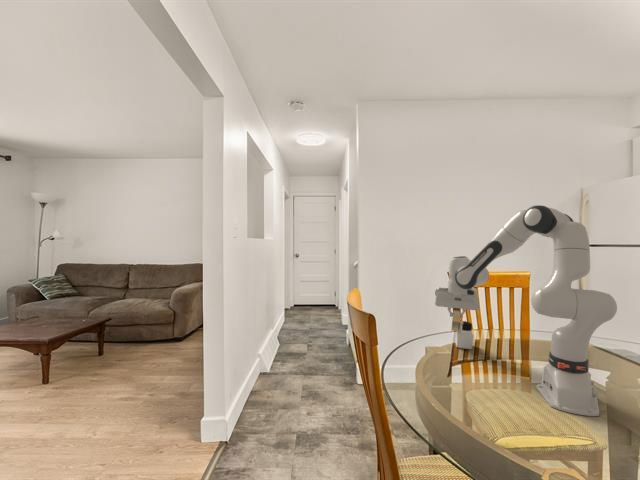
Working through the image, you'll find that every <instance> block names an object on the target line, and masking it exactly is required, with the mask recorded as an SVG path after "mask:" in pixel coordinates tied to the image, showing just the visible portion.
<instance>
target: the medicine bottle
mask: <svg viewBox="0 0 640 480" xmlns="http://www.w3.org/2000/svg"><path fill="white" fill-rule="evenodd" d="M472 329H473V324H472V323H471V322H470V321H467V320H466V321H465V320H464V321H463V320H461V321H459V326H458V331H455V346H456V348H457V347H458V349H465V350H471V349H472V350H473V346H474V345H473V343H474V333H473V330H472Z"/></svg>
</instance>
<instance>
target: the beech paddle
mask: <svg viewBox="0 0 640 480" xmlns="http://www.w3.org/2000/svg"><path fill="white" fill-rule="evenodd" d="M455 300H457V301H461V298H455ZM452 313H453V317H452V322H451V331H453V332H456V331H458V327H459V322H460V313H461V309H459V308H453V312H452Z"/></svg>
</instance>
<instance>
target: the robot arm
mask: <svg viewBox="0 0 640 480" xmlns="http://www.w3.org/2000/svg"><path fill="white" fill-rule="evenodd" d="M586 228H587V227H586V226H585V225H584V224H582V223H580V222H577V221H575V220H574V219H573V218H572V217H571V216H569V215H568V214H566V213H563V212H562V211H560V210H558V209H555V208H552V207H548V206H546V205H533V206H530V207H528V208H527V209H522V210H519V211H517V212H516V213H515V214H514V215H513V216H511V217H510V218H509V219H508V220H507V221H506V222H505V223H504V224H503V225H502V226H501V228H500V229H499V230H497V232H496V234H495V235H494V236H493V237H492V239H490V240H489V242H488V243H487V244H486V245H485V246H484V247H483V248H482V249H481V250H480V251H479V252H478V253H477V254H476V255H475V256H474V257H473V258H472V259H471V260H470V259H469V257H468V256H466V255H465V256H463V255H461V256H453V257H452V258H450V262H449V266H448V276H449V277H448V283H447V287H437V288H435V290H434V294H435V302H434V304H435V306H436V307H441V308H447V311H448V313H449V317H450V318H451V317H452V318H453V312H452V310H451V309H454V308H459V309H460V310H462V312H460V317H459V319H460V318H461V319H463V317H464V314H465V313H466V310H468V311H479V310H480V301H479V296H478V290H477V289H476V287H478V286H481V285H484V284H486V283H487V282H488V281H489V280H490V279H489V278H490V272H489V270H488V269H487V268H488V266H489V265H490V264H491V263H492V262H493V261H495V260H496V259H498V258H501V257H503V256H506V255H509V254H512V253H514V252H515V251H516V250H519V248H521V246H524V245H525V243H526V242H527V240H529V239H530V237H531V236H533V235H534V234H538V235H541V236H542V237H546V238H551V239H552V240H553V266H552V272H551V274H550V276H549V277H548V280H547V281H546V282H545V283H544V284H543V285H542V286H540V287H538V288H537V289H535V291H534V292H533V293H532V295H531V299H530V302H531V306H532V308H533V310H534V312H535V313H537V315H538V314H539V315H541V316H545V317H549V318H557V319H567V320H568V319H569V320H570V322H569V323H568V324H566V325H564V326H563V325H562V326H560V327H559V328H556V329H555V330H553V332H552V334H551V345H550V351H549V354H548V364H546V365H544V366H543V370H542V376H541V377H542V378H541V383H537V384H536V386H535V387H536V389H537V391H538V392H539V393H540V394H541V396H542V397H543V398H544V399H545V402H547V403H548V405H549V406H550V407H551V408H554V409H555V410H559V411H562V412H566V413H570V414H575V415H581V416H587V417H598V416H600V408H599V402H598V389H597V388H593V387H592V386H594V385H595V381H594V380H592V374H591V373H590V372H589V367H590V365H589V359H588V353H589V347H590V340H591V338H592V336H593V334H594V333H595V332H596V330H597V329H598V328H599V327H600V326H601V325H603V324H605V323H607V322H608V321H611V320H612V319H614V317H615V316H616V314H617V311H618V305H617V302H616V300H615V298H614V297H613V296H612V295H611V294H610V293H606V292H603V291H598V290H593V289H582V288H581V289H580V288H572V283H573V282H575V281H578V280H579V279H582V278H584V277H586V276H587V275H589V274H590V271H591V254H590V253H591V251H590V240H589V236H588V231H587V229H586ZM474 287H475V288H474ZM455 298H461V301H457V300H455Z"/></svg>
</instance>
